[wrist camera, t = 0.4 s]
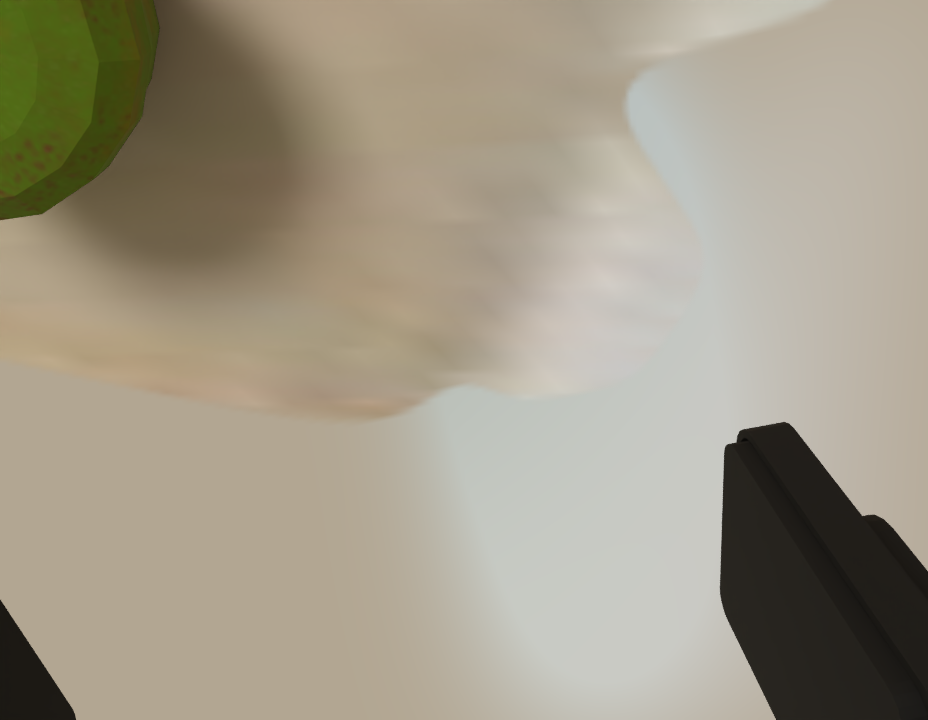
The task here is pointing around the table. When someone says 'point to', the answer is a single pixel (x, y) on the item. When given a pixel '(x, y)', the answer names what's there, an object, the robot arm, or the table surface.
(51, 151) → the apple
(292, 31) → the table surface
